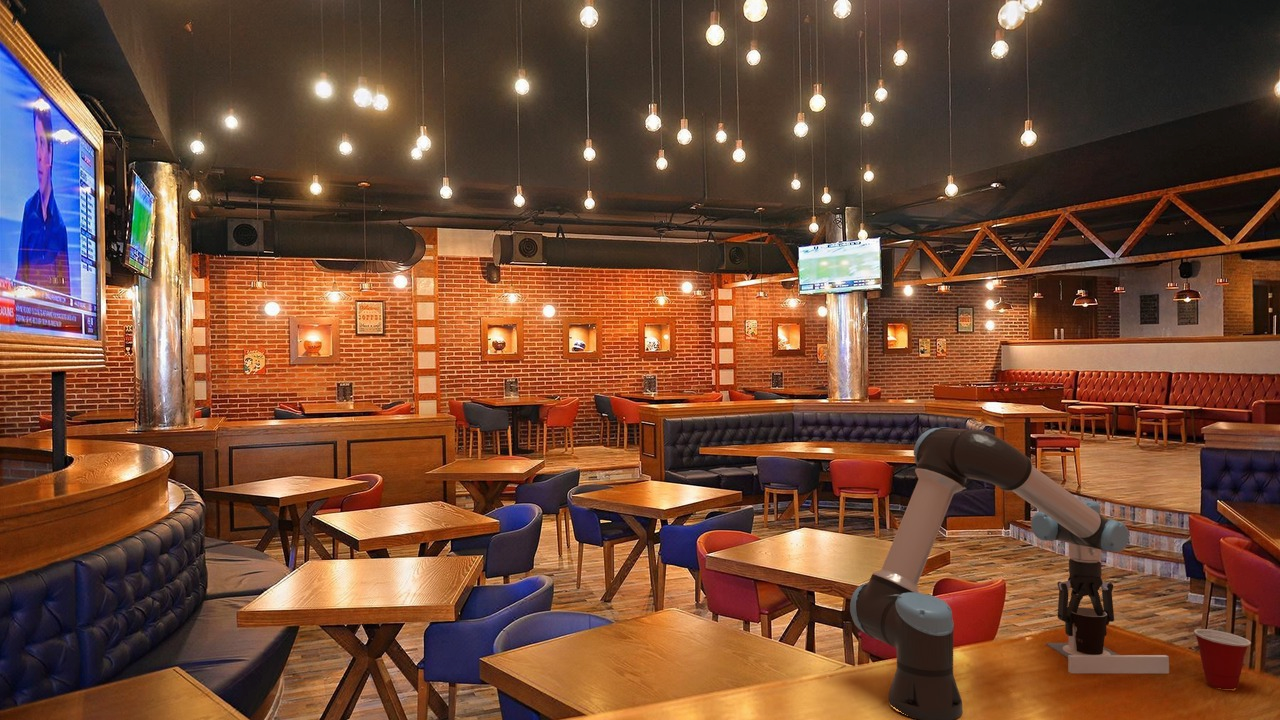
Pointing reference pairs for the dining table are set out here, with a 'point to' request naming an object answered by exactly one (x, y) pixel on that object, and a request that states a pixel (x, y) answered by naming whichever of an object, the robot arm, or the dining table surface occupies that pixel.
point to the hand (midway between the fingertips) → (1086, 648)
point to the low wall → (1118, 664)
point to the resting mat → (1066, 650)
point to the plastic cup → (1221, 657)
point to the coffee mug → (1089, 631)
